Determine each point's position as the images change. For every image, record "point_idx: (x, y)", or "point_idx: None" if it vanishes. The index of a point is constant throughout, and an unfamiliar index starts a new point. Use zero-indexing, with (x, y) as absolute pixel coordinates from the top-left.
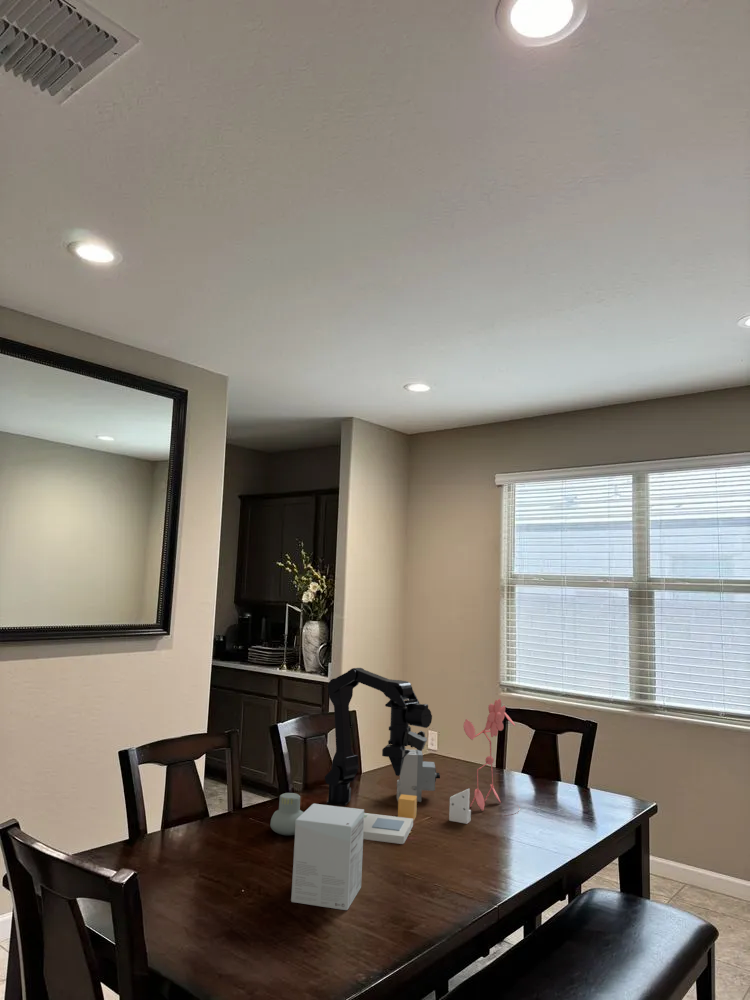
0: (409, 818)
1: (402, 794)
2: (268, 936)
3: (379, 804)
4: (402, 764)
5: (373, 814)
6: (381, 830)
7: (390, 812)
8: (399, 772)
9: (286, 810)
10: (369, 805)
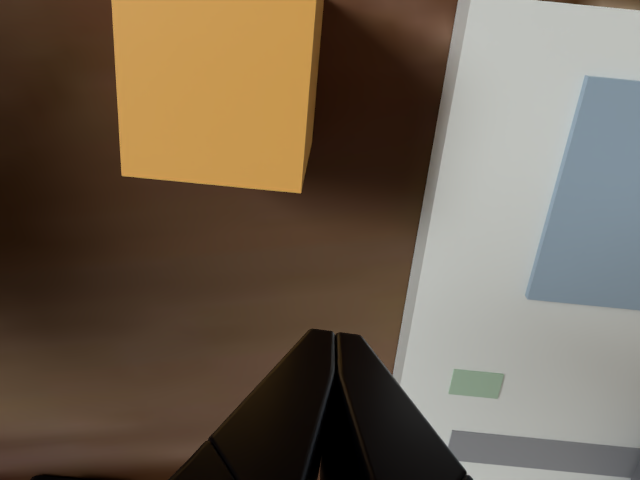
0: (474, 33)
1: (123, 162)
2: None
3: (16, 302)
4: (238, 434)
5: (421, 333)
6: None
7: (169, 210)
8: (383, 371)
9: None
10: (73, 361)
